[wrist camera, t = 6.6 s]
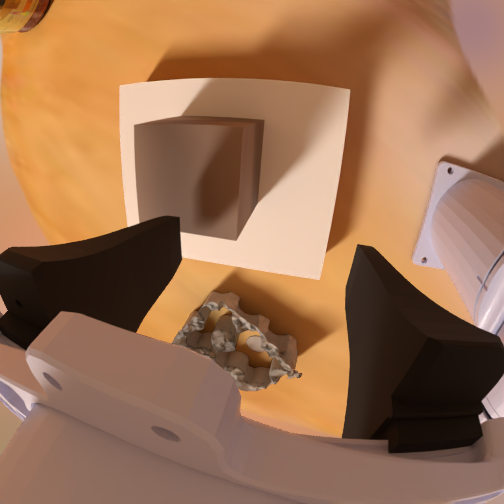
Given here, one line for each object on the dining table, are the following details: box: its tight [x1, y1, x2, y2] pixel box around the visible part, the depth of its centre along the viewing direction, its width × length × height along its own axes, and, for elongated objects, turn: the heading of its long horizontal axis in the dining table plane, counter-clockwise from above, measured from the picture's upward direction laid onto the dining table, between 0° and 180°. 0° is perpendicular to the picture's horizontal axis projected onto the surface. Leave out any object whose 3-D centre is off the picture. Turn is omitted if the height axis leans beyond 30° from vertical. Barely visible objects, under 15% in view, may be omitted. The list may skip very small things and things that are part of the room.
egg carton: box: [172, 291, 302, 391], centre depth 26 cm, size 11×8×4 cm
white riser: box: [120, 78, 350, 280], centre depth 18 cm, size 14×12×3 cm
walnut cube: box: [134, 116, 265, 241], centre depth 14 cm, size 5×5×5 cm
